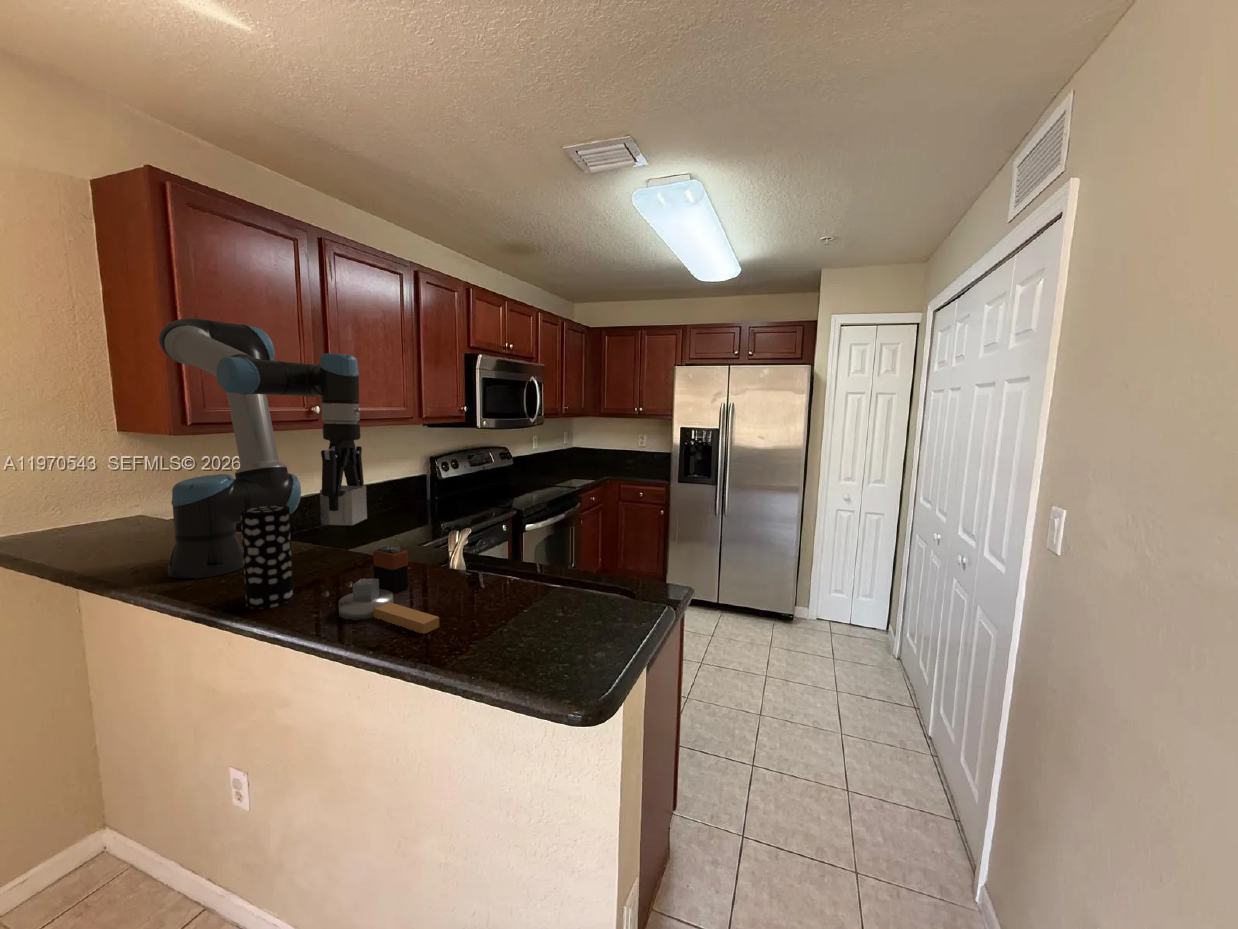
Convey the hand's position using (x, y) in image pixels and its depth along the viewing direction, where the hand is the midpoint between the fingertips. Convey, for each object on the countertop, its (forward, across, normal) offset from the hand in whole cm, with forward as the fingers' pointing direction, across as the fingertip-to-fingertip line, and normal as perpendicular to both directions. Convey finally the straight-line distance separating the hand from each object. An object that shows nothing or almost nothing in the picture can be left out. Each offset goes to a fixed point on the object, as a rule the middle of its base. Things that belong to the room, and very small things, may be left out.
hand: (345, 520), depth 115 cm
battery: (+15, -4, -12) cm, 20 cm away
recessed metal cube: (0, 0, 0) cm, 0 cm away
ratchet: (+15, -19, -18) cm, 30 cm away
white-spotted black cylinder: (+15, -12, +10) cm, 22 cm away
